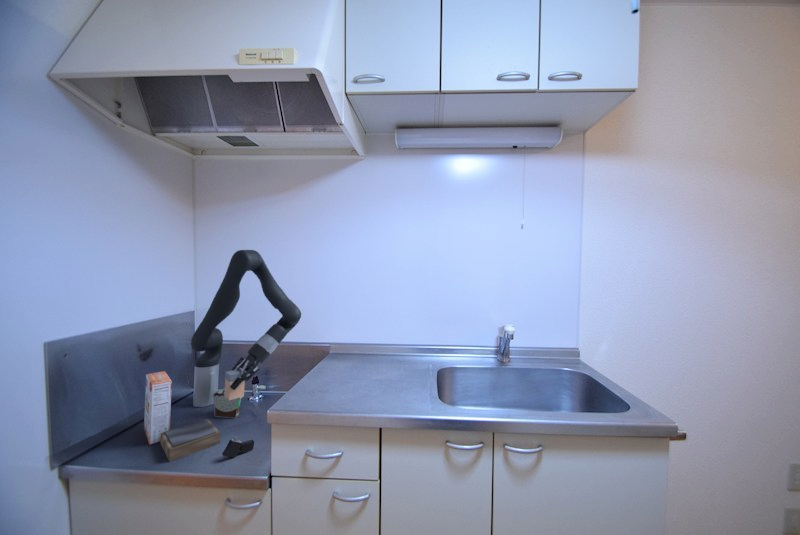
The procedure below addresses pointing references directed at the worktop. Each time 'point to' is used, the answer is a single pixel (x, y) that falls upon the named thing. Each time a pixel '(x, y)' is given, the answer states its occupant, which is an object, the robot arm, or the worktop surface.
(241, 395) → the block
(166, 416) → the cracker box
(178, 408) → the worktop surface
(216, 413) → the food container
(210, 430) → the stand
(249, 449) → the lighter
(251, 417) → the worktop surface
